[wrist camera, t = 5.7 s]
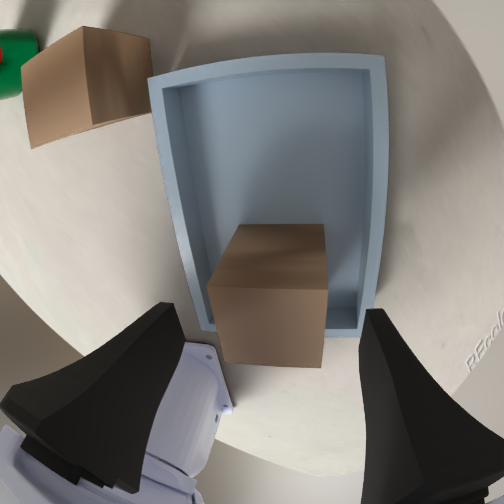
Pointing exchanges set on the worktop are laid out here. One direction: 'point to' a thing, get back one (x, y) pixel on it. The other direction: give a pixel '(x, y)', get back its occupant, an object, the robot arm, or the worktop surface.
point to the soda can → (15, 59)
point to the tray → (278, 164)
